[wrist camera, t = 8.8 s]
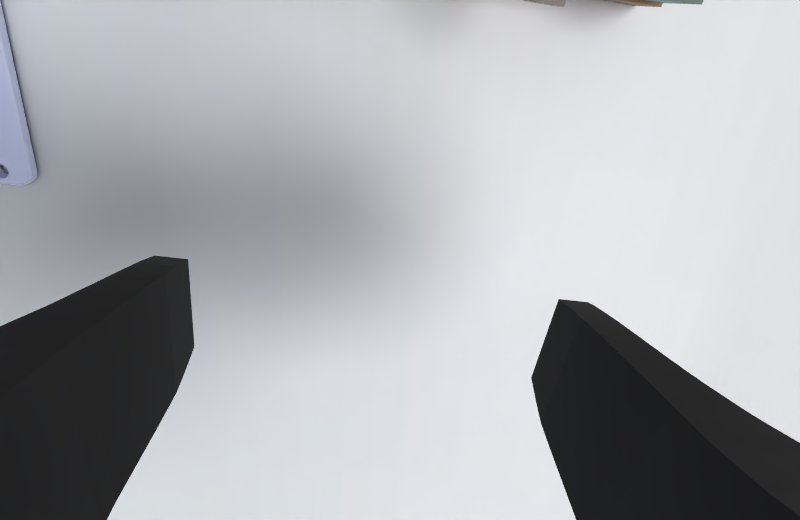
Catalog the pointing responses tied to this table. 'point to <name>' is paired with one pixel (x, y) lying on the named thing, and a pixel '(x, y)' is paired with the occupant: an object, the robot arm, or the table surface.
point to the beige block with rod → (549, 2)
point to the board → (656, 2)
